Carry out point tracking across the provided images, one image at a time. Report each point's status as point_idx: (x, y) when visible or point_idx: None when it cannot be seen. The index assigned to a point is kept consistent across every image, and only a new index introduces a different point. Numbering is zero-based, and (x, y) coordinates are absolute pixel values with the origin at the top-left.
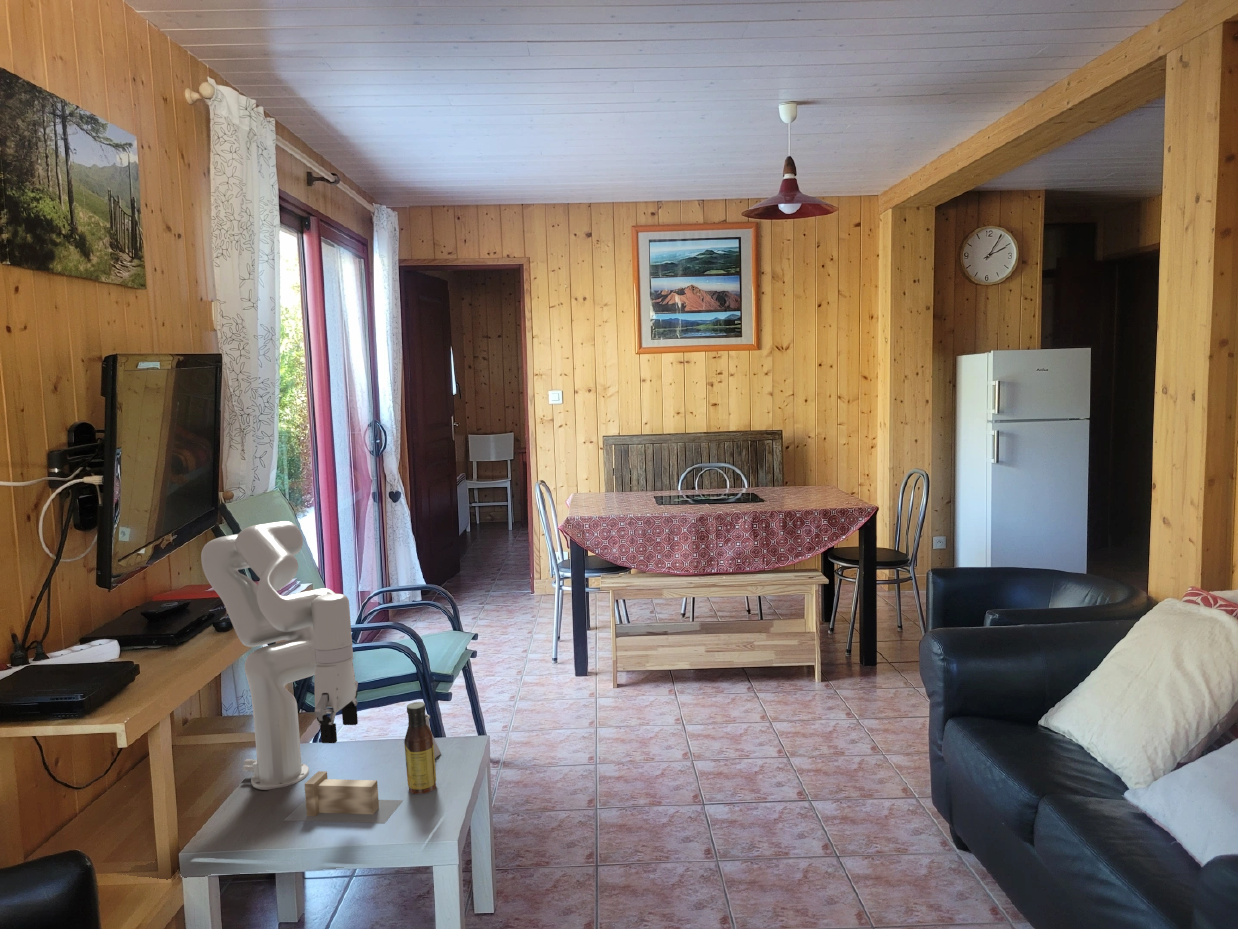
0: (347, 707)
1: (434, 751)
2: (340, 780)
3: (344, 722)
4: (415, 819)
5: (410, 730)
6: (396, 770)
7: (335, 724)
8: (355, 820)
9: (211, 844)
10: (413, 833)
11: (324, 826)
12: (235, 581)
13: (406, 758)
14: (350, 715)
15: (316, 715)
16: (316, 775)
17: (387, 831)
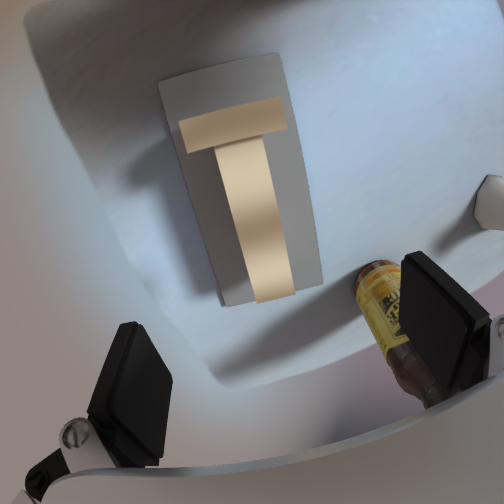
0: (463, 355)
1: (492, 229)
2: (267, 195)
3: (409, 273)
4: (268, 334)
5: (420, 385)
6: (447, 178)
7: (154, 462)
8: (215, 248)
9: (49, 30)
10: (224, 354)
11: (179, 187)
12: None
13: (390, 318)
14: (426, 338)
15: (14, 501)
16: (249, 113)
17: (212, 317)
